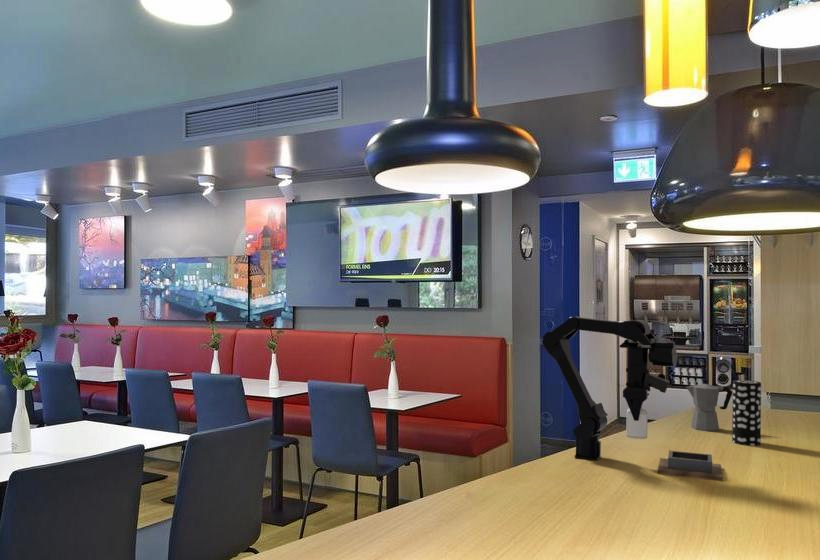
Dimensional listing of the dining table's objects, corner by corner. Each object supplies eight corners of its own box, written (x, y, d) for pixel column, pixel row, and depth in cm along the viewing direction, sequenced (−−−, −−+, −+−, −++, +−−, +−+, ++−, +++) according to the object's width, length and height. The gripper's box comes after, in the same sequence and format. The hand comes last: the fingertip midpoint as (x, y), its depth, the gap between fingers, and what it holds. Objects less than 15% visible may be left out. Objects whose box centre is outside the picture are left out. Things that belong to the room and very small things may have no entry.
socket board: (657, 473, 182) (657, 469, 182) (660, 461, 195) (660, 458, 195) (722, 480, 176) (723, 476, 176) (720, 467, 189) (720, 464, 189)
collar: (667, 468, 183) (668, 457, 183) (669, 460, 191) (669, 450, 191) (712, 473, 179) (712, 462, 179) (711, 465, 187) (711, 454, 187)
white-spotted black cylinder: (765, 446, 217) (766, 383, 217) (739, 445, 217) (740, 383, 217) (752, 440, 225) (753, 380, 225) (727, 439, 225) (728, 379, 226)
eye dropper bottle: (642, 440, 187) (642, 397, 187) (623, 437, 191) (624, 394, 191) (649, 438, 190) (650, 395, 190) (631, 434, 194) (631, 393, 194)
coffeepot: (685, 429, 241) (686, 379, 241) (684, 424, 250) (685, 376, 250) (733, 433, 236) (733, 381, 236) (730, 428, 245) (731, 378, 245)
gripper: (666, 369, 179) (666, 428, 179) (668, 362, 196) (668, 416, 196) (622, 367, 184) (622, 424, 183) (628, 360, 201) (628, 413, 201)
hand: (636, 419), depth 191 cm, fingers closed on eye dropper bottle, 3 cm apart
